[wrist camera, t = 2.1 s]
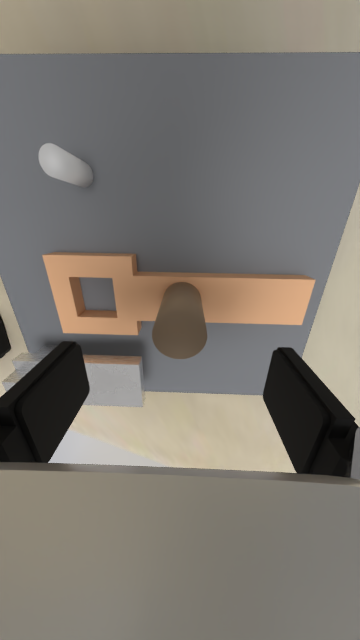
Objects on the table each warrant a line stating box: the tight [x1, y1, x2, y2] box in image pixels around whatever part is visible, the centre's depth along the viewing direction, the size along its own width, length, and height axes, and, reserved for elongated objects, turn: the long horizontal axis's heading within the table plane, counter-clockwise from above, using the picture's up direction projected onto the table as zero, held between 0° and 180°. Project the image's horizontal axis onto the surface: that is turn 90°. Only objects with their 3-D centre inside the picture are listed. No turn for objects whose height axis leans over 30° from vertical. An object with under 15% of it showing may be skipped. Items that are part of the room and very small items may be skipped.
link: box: [42, 252, 315, 359], centre depth 15 cm, size 22×7×8 cm, turn 89°
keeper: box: [2, 345, 145, 407], centre depth 20 cm, size 5×11×7 cm, turn 89°
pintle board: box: [0, 52, 360, 395], centre depth 17 cm, size 27×29×5 cm
